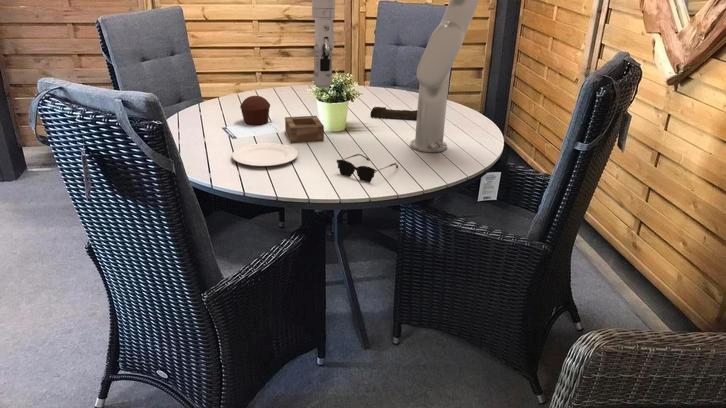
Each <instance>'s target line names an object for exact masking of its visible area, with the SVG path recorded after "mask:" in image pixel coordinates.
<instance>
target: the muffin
mask: <svg viewBox="0 0 726 408" xmlns="http://www.w3.org/2000/svg"><path fill="white" fill-rule="evenodd" d="M270 108H271V104H270V102H269V101H268V100H267V99H266V98H264V97H263V96H260V95H251V96H248V97H246V98H244V100H243V101H242V102H241V104H240V106H239V109H240V110H241V114H242V115H241V116H242V118H243V123H244V124H245V125H246V126H251V127H259V126H260V127H261V126H264V125H267V124H268V122H269V115H270Z"/></svg>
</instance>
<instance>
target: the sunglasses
mask: <svg viewBox="0 0 726 408" xmlns="http://www.w3.org/2000/svg"><path fill="white" fill-rule="evenodd" d="M358 156H361V157H363V158H364V159H366V160H367V161H368V162H369V161H370V158H368V157H366V156H365V155H363V154H360V153H358V154H357V153H356V154H353V155H350V156H346V157H345V158H344V157H343V158H342V159H337V160H336V163H337V169H339V174H340V175H341V176H344V177H348V178H350V177H352V175H354V173H355V171H356V175H357V177H358V178H359V180H360V181H363V182H366V183H369V184H370V183H371V182H372V180H373V178H374V177H375V173H376V172H380V171H382V170H384V169H386V168H389V167H391V166H395V167H396V169H399V166H398V164H397V163H396V162H394V163H391V164H389V165H387V166H384V167H381V168H380V169H375V168H373V167H370V166H368V165H360V166H355V164H353V163H352V162H350V161H348V159H350V158H353V157H358Z"/></svg>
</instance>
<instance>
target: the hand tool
mask: <svg viewBox="0 0 726 408" xmlns="http://www.w3.org/2000/svg"><path fill="white" fill-rule="evenodd" d="M370 117H371V118H373V117H374V118H375V119H381V118H382V119H383V120H384V118H385V119H387V118H388V119H404V120H405V119H406V120H415V121H416V122H417V109H416V110H409V109H402V110H401V109H390V108H388V109H387V107H382V106H381V107H380V106H374V107H372V109H371V111H370ZM374 118H373V119H374Z"/></svg>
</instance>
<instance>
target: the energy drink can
mask: <svg viewBox="0 0 726 408" xmlns="http://www.w3.org/2000/svg"><path fill="white" fill-rule="evenodd" d="M329 47H330V46H329ZM313 49H314V51H313V52H314V53H313V55H314V58H313V59H314V60H313V61H314V62H313V63H314V64H313V73H314V74H313V78H314V79H313V81H314V85H315V87H316V88H319V89H320V88H321V89H327V88H330V87H331V86H332V80H333V79H332V77H333V70H332V69H333V50H331V49H330V48H329V49H330V51H329V53H330V71H320V59H321V50H319V49H318V45H317V42H316V44H315V43H314V47H313ZM322 49H325V48H322ZM323 53H324V52H323Z"/></svg>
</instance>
